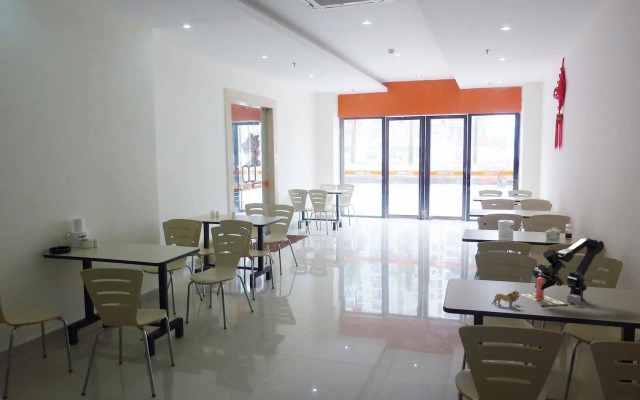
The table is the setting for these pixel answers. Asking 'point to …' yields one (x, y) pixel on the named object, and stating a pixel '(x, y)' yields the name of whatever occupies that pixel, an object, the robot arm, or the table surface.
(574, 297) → the die
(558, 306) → the board
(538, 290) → the pawn
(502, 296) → the lion figurine
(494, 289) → the table surface
